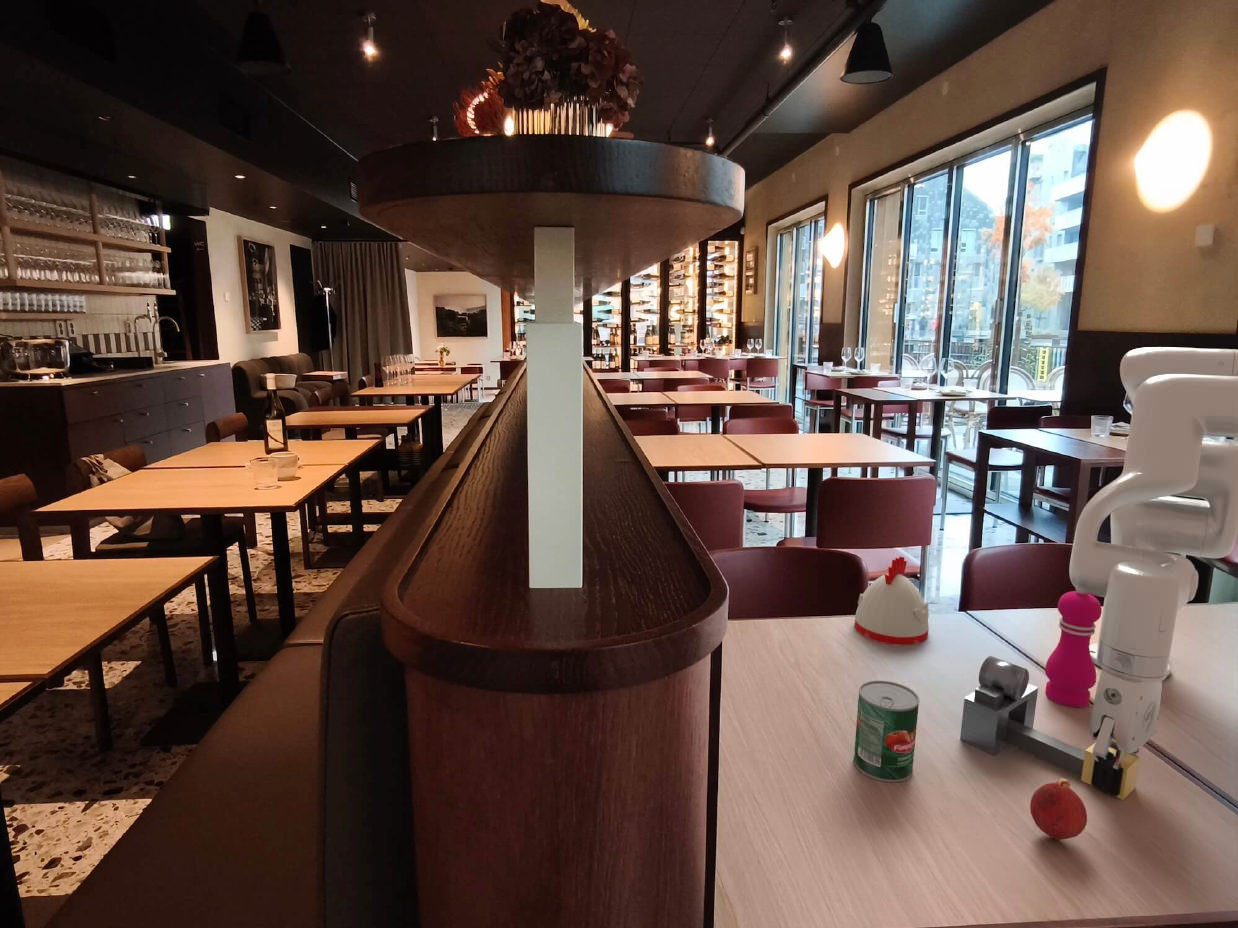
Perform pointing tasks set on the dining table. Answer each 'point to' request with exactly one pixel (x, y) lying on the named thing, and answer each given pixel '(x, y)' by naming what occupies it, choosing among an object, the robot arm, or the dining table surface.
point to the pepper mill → (1073, 651)
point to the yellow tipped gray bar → (1068, 755)
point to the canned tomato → (886, 730)
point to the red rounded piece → (1058, 810)
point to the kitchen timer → (893, 609)
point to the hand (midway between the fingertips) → (1112, 782)
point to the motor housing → (997, 704)
